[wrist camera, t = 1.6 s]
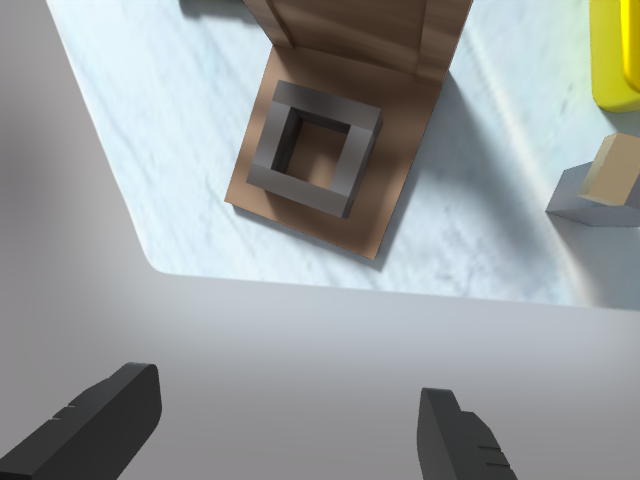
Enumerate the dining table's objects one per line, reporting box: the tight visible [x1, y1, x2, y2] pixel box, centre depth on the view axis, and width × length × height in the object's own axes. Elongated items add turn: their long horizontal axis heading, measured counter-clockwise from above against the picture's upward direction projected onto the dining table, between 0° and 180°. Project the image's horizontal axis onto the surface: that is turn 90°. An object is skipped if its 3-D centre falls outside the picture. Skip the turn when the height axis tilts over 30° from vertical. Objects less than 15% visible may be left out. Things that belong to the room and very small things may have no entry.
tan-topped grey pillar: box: [545, 132, 640, 227], centre depth 23 cm, size 4×6×10 cm, turn 69°
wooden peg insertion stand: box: [224, 0, 473, 260], centre depth 24 cm, size 20×18×18 cm
